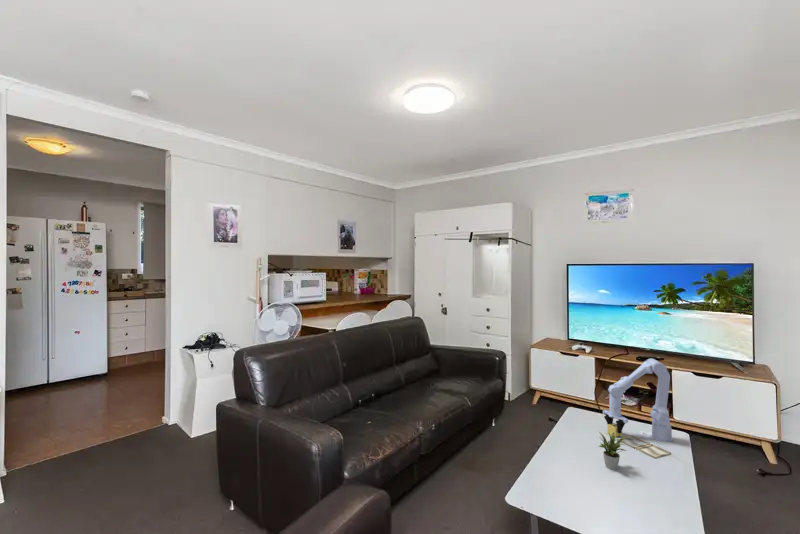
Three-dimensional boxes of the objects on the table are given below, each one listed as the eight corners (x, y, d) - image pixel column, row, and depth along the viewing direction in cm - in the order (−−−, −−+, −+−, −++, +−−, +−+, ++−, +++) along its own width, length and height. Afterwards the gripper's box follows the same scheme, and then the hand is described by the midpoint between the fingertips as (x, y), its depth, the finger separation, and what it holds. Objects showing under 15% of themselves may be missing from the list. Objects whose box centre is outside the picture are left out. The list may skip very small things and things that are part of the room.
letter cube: (613, 431, 222) (613, 422, 222) (621, 435, 218) (621, 426, 218) (607, 433, 220) (607, 424, 220) (615, 436, 216) (615, 427, 216)
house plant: (635, 478, 177) (635, 442, 176) (602, 474, 179) (602, 439, 179) (623, 462, 191) (624, 429, 190) (593, 459, 193) (593, 426, 193)
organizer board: (618, 430, 226) (618, 428, 226) (672, 455, 197) (672, 452, 197) (601, 434, 221) (601, 432, 221) (655, 460, 192) (655, 457, 192)
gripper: (598, 403, 224) (598, 426, 224) (621, 412, 211) (621, 437, 211) (607, 401, 227) (607, 424, 227) (630, 410, 213) (630, 435, 214)
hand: (614, 430), depth 219 cm, fingers open, 5 cm apart
